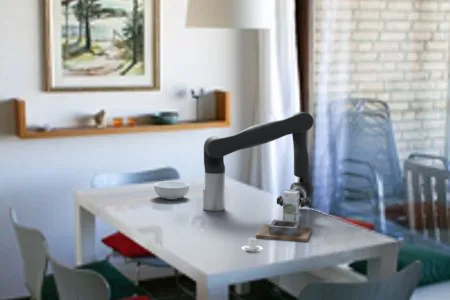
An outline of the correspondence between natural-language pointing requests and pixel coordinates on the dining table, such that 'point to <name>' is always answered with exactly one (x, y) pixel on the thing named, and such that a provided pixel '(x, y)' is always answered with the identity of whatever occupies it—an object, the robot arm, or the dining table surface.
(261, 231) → the collar board
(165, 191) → the cereal bowl
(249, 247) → the teacup and saucer
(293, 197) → the syrup box
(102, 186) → the dining table surface
